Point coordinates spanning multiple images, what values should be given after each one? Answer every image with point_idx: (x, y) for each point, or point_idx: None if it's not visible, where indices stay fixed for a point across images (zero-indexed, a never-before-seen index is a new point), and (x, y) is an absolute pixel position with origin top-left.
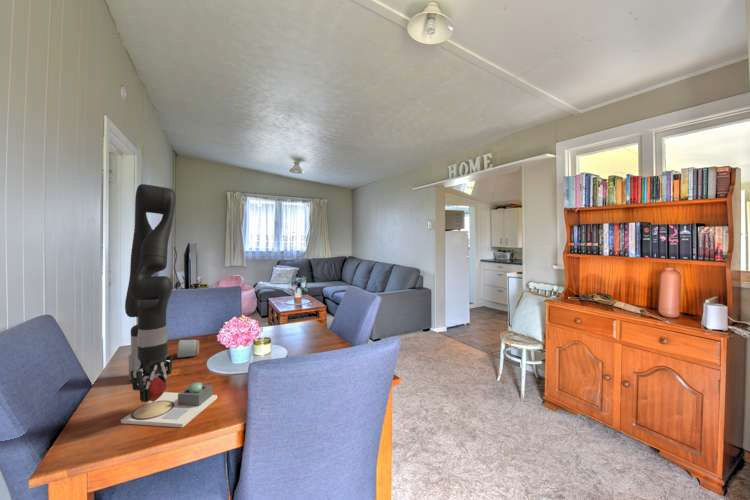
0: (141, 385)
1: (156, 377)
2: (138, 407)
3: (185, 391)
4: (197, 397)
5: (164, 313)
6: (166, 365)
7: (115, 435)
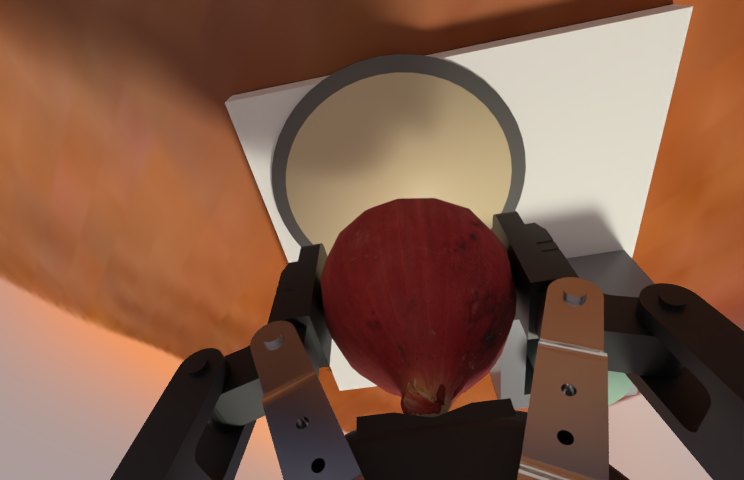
0: (216, 455)
1: (452, 401)
2: (391, 58)
3: None
4: (496, 394)
5: None
6: (716, 446)
7: (152, 193)
